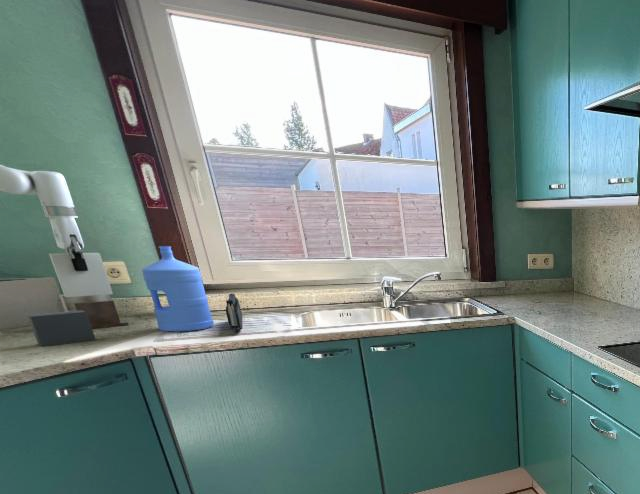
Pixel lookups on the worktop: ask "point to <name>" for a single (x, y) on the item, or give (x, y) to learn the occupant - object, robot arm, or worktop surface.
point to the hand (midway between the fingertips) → (80, 270)
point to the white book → (81, 275)
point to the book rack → (95, 310)
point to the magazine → (234, 313)
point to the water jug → (178, 294)
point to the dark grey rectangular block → (61, 327)
